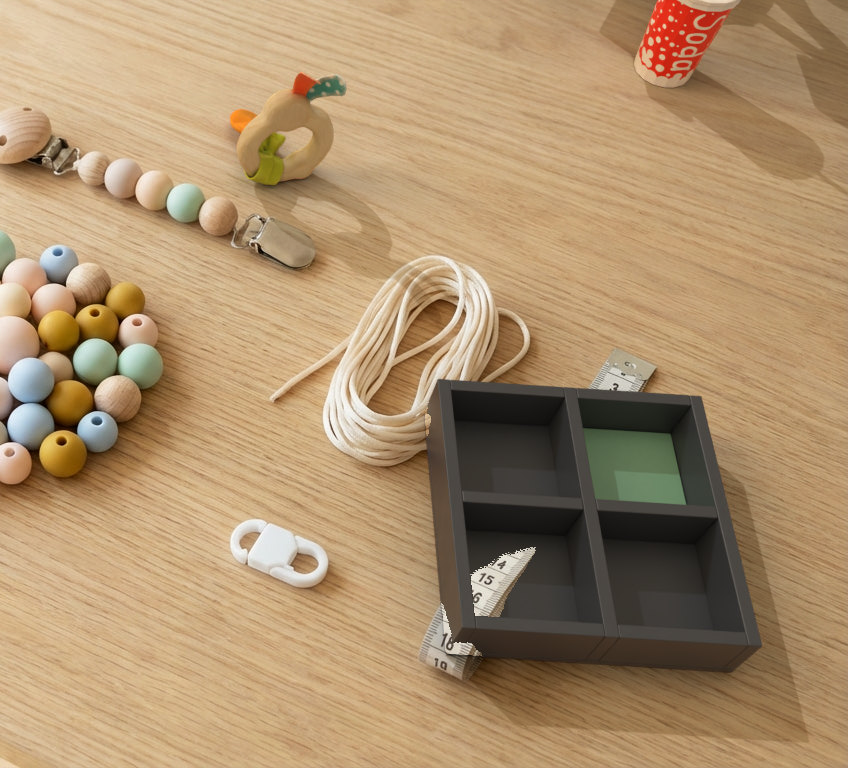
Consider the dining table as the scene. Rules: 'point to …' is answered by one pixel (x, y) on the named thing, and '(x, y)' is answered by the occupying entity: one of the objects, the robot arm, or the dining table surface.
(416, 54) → the dining table surface
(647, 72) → the beverage cup
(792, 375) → the dining table surface
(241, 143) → the rattle
